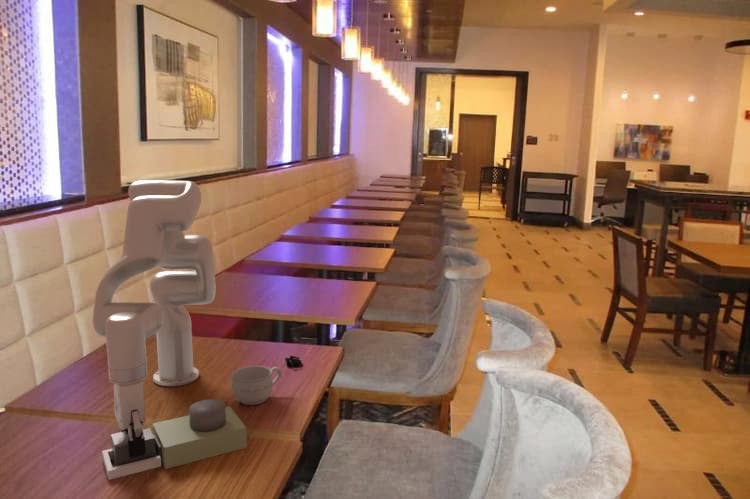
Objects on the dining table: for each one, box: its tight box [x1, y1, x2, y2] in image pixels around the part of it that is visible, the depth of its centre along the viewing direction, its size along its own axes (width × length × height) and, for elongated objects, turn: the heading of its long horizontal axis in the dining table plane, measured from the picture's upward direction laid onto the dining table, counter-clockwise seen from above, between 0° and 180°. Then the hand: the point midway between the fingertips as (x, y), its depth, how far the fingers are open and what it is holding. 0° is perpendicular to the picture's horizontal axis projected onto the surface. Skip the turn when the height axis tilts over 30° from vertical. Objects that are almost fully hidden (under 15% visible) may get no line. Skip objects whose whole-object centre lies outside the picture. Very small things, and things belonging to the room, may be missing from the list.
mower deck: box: [101, 398, 248, 481], centre depth 135 cm, size 12×29×9 cm, turn 121°
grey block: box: [110, 427, 157, 467], centre depth 131 cm, size 5×8×7 cm, turn 121°
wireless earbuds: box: [284, 355, 302, 368], centre depth 185 cm, size 7×2×5 cm
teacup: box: [231, 365, 283, 406], centre depth 162 cm, size 14×11×8 cm
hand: (133, 445), depth 131 cm, fingers open, 9 cm apart
